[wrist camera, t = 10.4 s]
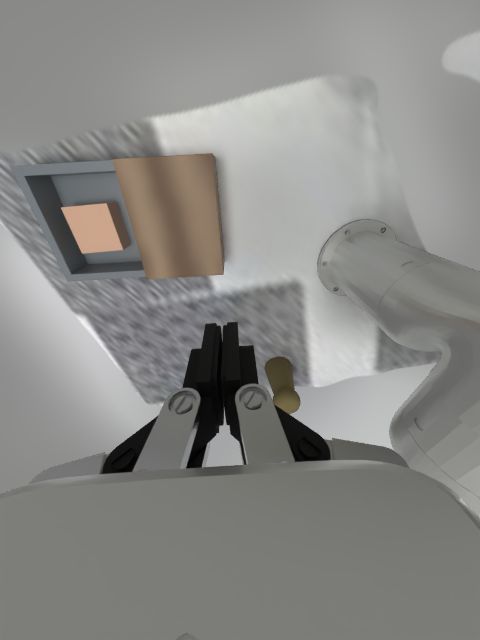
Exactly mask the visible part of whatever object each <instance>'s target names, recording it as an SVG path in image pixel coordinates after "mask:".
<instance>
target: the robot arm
mask: <svg viewBox="0 0 480 640" xmlns="http://www.w3.org/2000/svg"><path fill="white" fill-rule="evenodd" d="M345 231H346V232H345ZM323 262H324V263H323ZM318 274H319V278H320V280H321V282H322V283H323V284H324V286H325V287H326V288H327V289H328V290H329V291H331V292H332V293H334V294H338V295H342V296H349V297H350V298H351V299H352V300H353V301H354V302H355V303H356V304H357V305H358V306H359V307H360V308H361V309H362V310H363V311H364V312H365V313H366V314H367V315H368V316H369V317H370V318H371V319H372V320H373V321H374V322H375V323H376V324H377V325H378V326H379V327H380V328H381V329H382V330H383V331H384V332H385V333H386V334H387V335H388V336H389V337H390V338H391V339H392V340H393V341H395V342H396V343H398V344H400V345H402V346H404V347H406V348H409V349H413V350H417V351H425V352H442V356H441V358H440V360H439V362H438V363H437V364H436V365H435V367H434V368H433V369H432V370H431V371H430V373H429V375H428V376H427V377H426V379H425V380H424V381H423V382H422V383H421V384H420V385H419V386H418V388H417V389H416V390H415V391H414V392H413V393H412V394H411V395H410V396H409V398H408V399H407V400H406V401H405V402H404V403H403V405H402V406H401V407H400V408H399V409H398V411H397V412H396V413H395V415H394V417H393V418H392V421H391V424H390V430H389V435H390V440H391V444H392V447H393V449H394V451H393V450H392V449H389V448H386V447H382V446H376V445H370V444H364V443H358V442H353V441H346V440H341V439H335V438H332V440H325V439H323V438H322V437H321V436H320V435H319V434H317V433H316V432H314V431H313V430H311V429H310V428H308V427H307V426H305V425H304V424H302V423H301V422H299V421H298V420H297V419H295V418H294V417H292V416H290V415H289V414H288V413H286V412H285V411H283V410H282V409H281V408H279V407H278V406H276V405H275V404H274V403H273V401H272V398H271V395H270V393H269V391H268V390H267V389H266V388H265V387H263V386H261V385H259V383H258V376H257V369H256V361H255V354H254V347H253V345H251V346H239V339H238V324H237V322H229V323H227V325H224V326H223V343H222V334H221V326H217V324H216V323H212V324H206V325H205V331H204V336H203V342H202V348H201V349H192V350H191V353H190V358H189V362H188V366H187V371H186V375H185V379H184V384H183V388H181V389H178V390H176V391H174V392H172V393H171V394H170V395H169V396H168V398H167V399H166V401H165V403H164V405H163V407H162V409H161V411H160V414H159V416H157V417H156V418H155V419H153V420H152V421H151V422H149V423H148V424H147V425H145V426H144V427H143V428H141V429H140V430H139V431H137V432H136V433H135V434H133V435H132V436H131V437H129V438H128V439H127V440H125V441H124V442H123V443H121V444H120V445H119V446H117V447H116V448H115V449H114V450H113V451H112V452H111V453H110V454H105V452H104V453H101V454H97V455H93V456H90V457H86V458H83V459H79V460H76V461H72V462H69V463H65V464H62V465H58V466H55V467H51V468H49V469H47V470H44V471H43V472H41V473H40V474H38V475H37V476H36V477H35V478H34V479H33V480H32V481H31V482H30V483H29V484H28V485H25V486H21V487H18V488H15V489H12V490H10V491H7V492H5V493H2V494H0V640H480V271H476V270H474V269H471V268H468V267H466V266H463V265H460V264H458V263H455V262H452V261H449V260H446V259H444V258H441V257H438V256H436V255H433V254H430V253H428V252H425V251H422V250H420V249H417V248H414V247H412V246H409V245H406V244H404V243H401V242H398V241H397V240H396V236H395V234H394V232H393V231H392V230H391V229H390V228H389V227H388V226H387V225H385V224H384V223H382V222H378V221H375V220H359V221H355V222H352V223H350V224H347V225H345V226H344V227H342V228H341V229H339V230H338V231H337V232H335V233H334V234H333V235H332V236H331V237H330V239H329V240H328V241H327V242H326V244H325V245H324V247H323V249H322V251H321V254H320V256H319V261H318ZM224 409H225V416H226V423H227V425H230V433H231V435H232V436H234V437H235V438H236V439H237V440H238V441H239V445H240V451H241V456H242V462H243V465H236V466H220V467H205V466H206V461H207V457H208V452H209V448H210V441H211V440H212V438H214V437H215V436H216V433H219V426H220V425H223V423H224V421H223V420H224Z"/></svg>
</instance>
